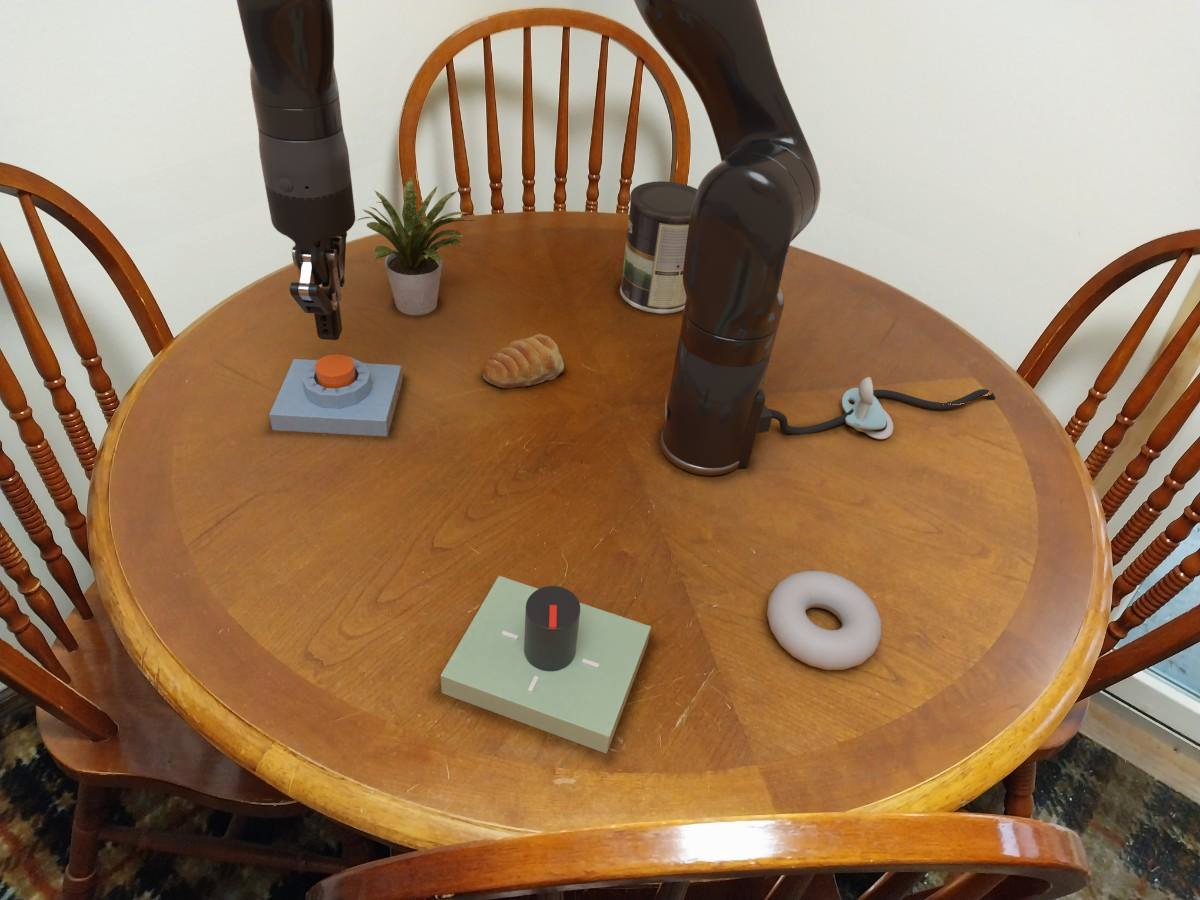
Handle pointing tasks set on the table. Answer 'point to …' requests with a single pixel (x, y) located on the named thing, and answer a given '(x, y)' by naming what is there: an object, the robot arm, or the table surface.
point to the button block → (338, 401)
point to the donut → (814, 641)
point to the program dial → (551, 628)
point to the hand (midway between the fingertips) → (330, 335)
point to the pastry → (524, 363)
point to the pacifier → (866, 411)
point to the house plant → (414, 250)
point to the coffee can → (657, 246)
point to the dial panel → (547, 698)
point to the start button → (335, 371)
